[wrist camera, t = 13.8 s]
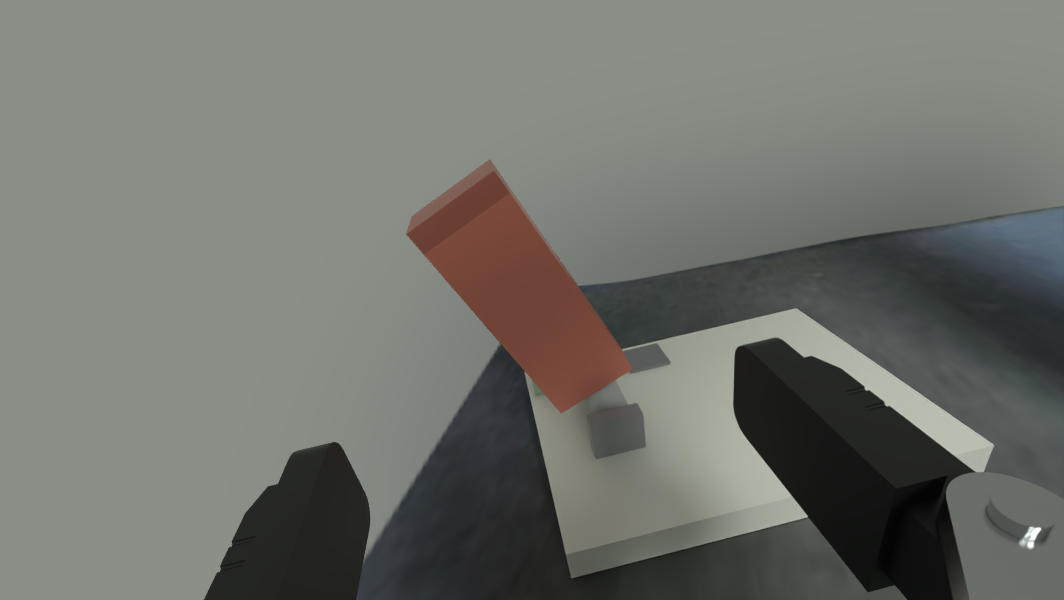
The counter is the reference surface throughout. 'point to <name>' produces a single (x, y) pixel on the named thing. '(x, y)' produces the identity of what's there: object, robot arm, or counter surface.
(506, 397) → the counter surface
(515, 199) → the lever
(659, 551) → the breaker base
